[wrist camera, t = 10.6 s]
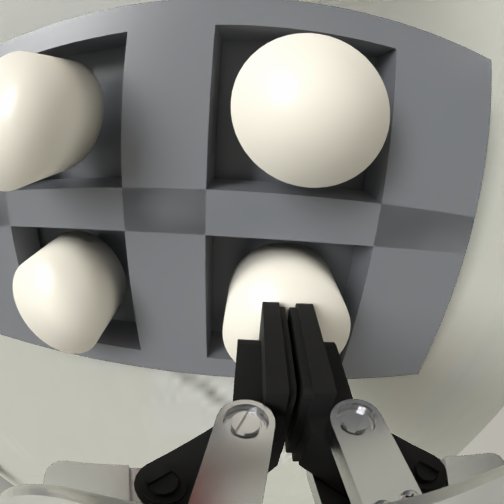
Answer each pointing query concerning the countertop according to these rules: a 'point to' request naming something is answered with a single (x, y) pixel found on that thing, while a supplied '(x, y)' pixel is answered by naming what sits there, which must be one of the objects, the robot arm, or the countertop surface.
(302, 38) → the button
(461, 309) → the countertop surface
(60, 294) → the button
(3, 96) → the button
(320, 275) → the button
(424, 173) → the button board
